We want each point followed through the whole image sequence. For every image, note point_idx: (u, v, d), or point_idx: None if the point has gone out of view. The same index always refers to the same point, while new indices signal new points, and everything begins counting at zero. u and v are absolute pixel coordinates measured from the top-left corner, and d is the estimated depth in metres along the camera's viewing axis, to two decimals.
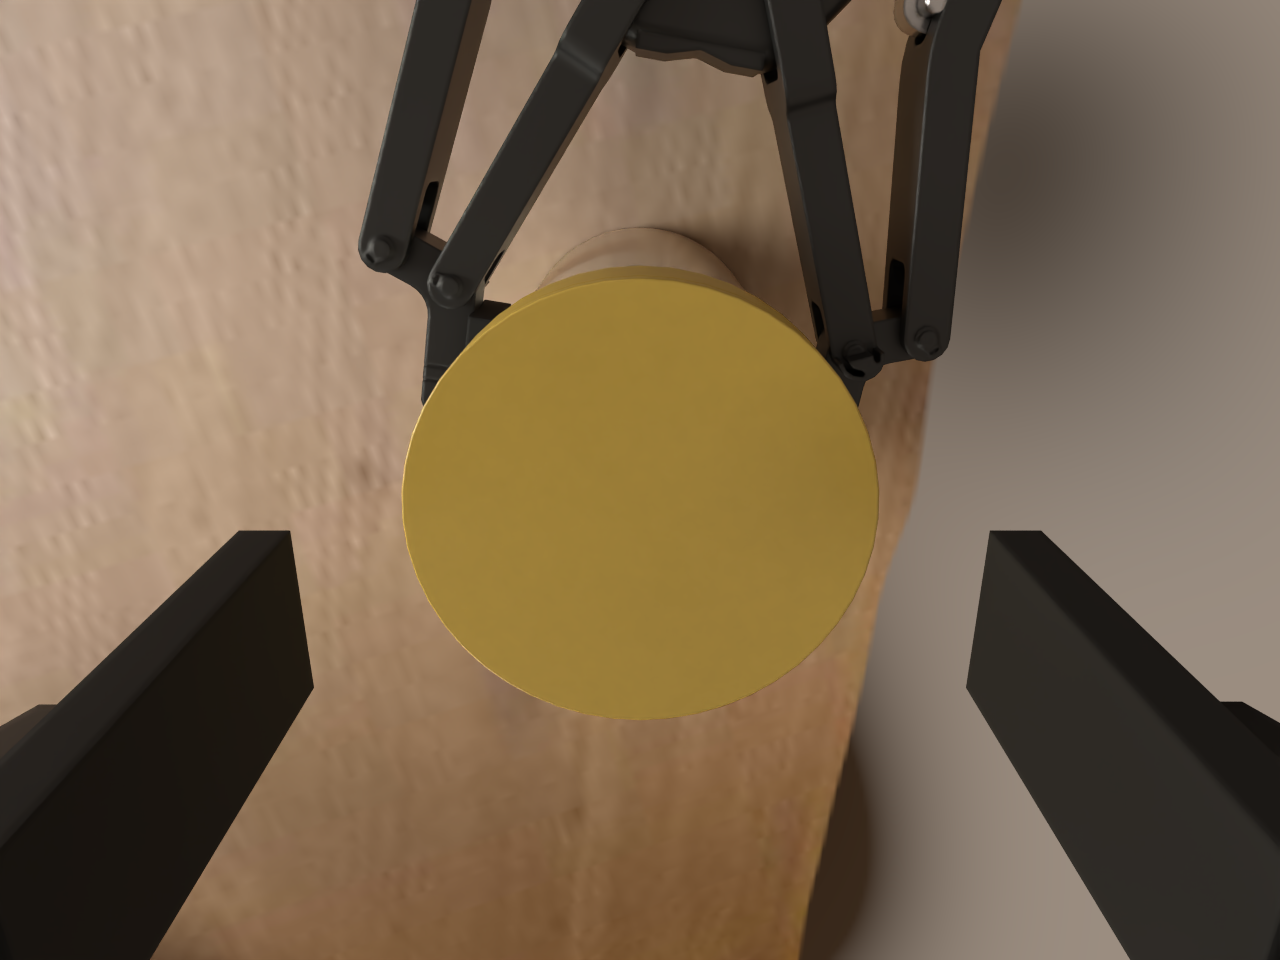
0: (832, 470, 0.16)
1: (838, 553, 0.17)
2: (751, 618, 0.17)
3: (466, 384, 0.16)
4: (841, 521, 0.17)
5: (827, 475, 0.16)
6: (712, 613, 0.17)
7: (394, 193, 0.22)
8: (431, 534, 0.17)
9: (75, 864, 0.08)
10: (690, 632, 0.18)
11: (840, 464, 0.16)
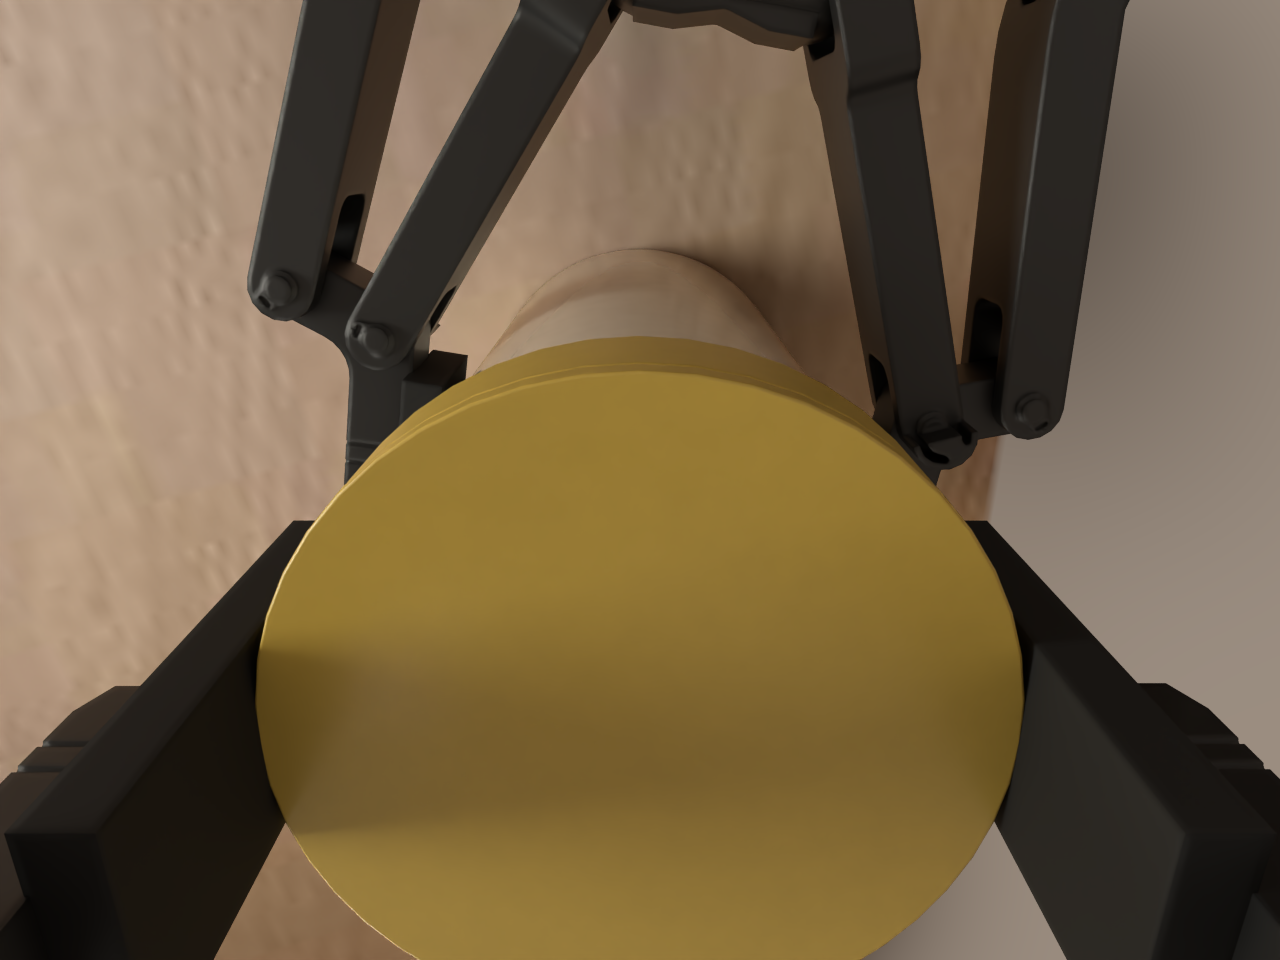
0: (951, 671, 0.10)
1: (954, 791, 0.11)
2: (813, 883, 0.11)
3: (350, 540, 0.10)
4: (961, 745, 0.10)
5: (943, 678, 0.10)
6: (752, 876, 0.11)
7: (294, 211, 0.16)
8: (306, 764, 0.11)
9: (168, 835, 0.08)
10: (717, 902, 0.11)
11: (964, 662, 0.10)
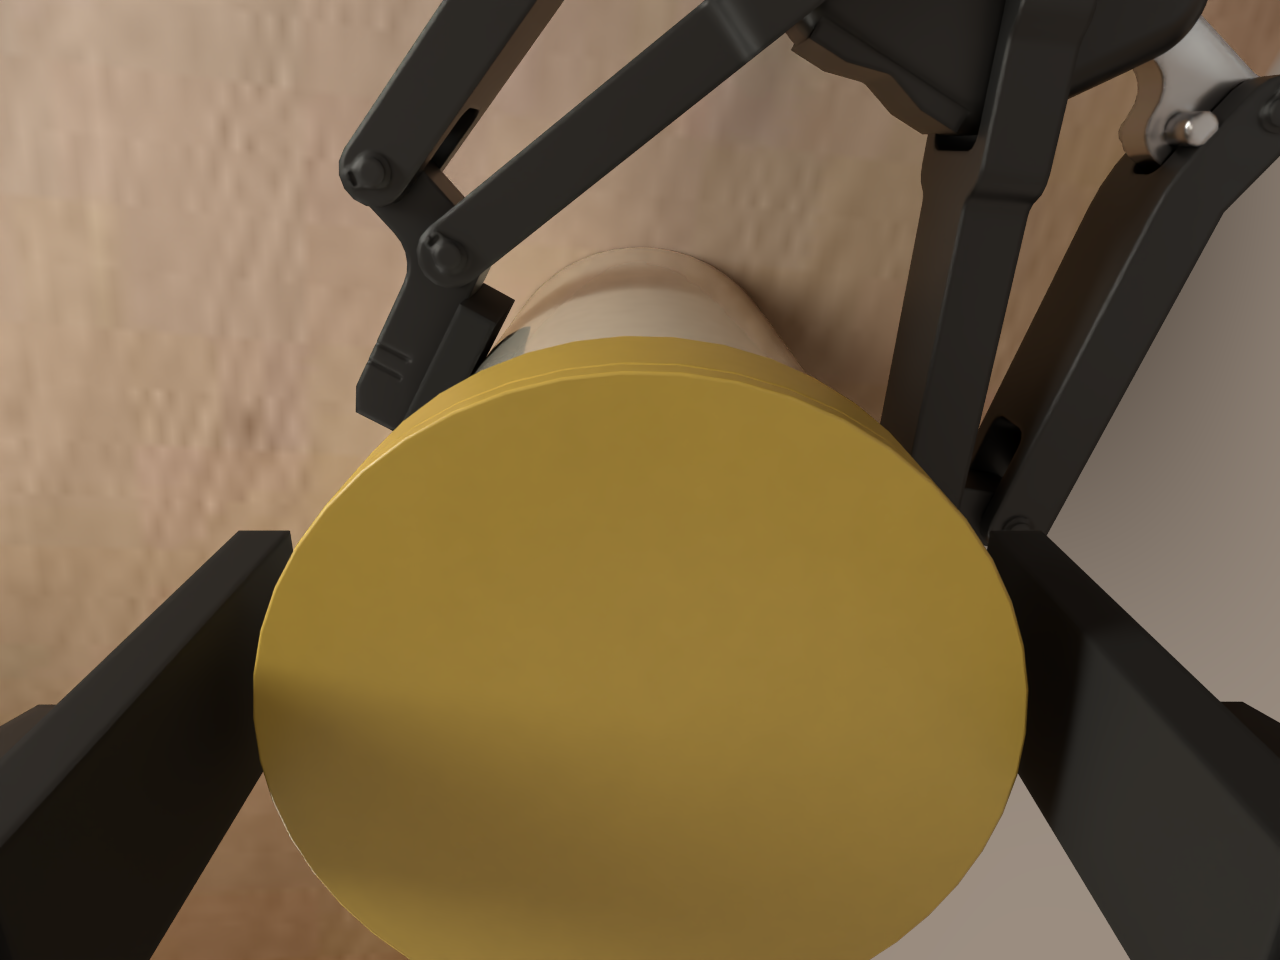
0: (621, 449, 0.09)
1: (787, 461, 0.09)
2: (869, 622, 0.10)
3: (382, 908, 0.11)
4: (724, 447, 0.09)
5: (628, 459, 0.09)
6: (839, 679, 0.10)
7: (417, 104, 0.15)
8: None
9: (75, 864, 0.08)
10: (863, 716, 0.10)
11: (613, 433, 0.09)
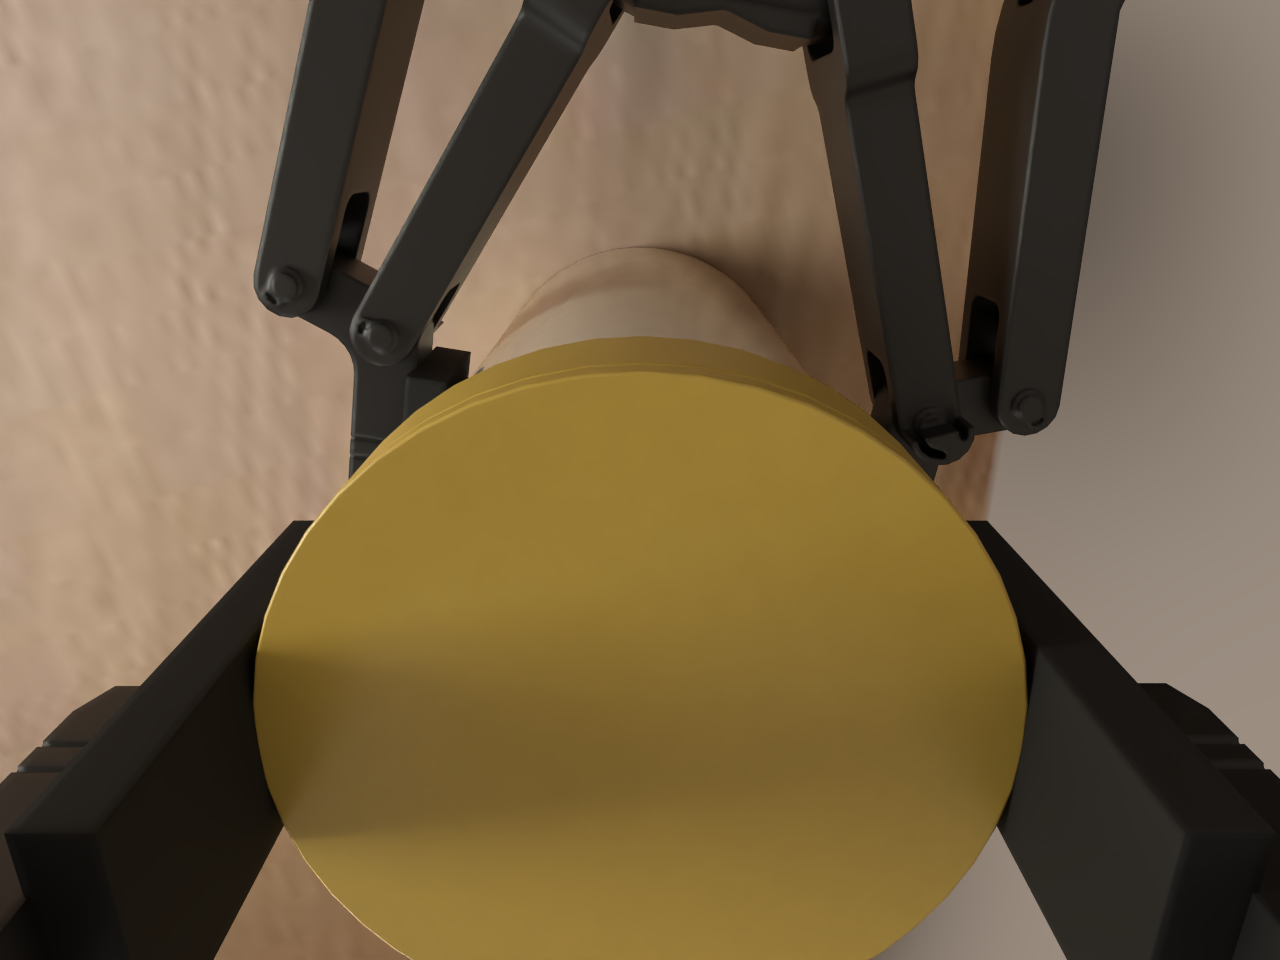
0: (501, 475, 0.09)
1: (661, 433, 0.09)
2: (808, 560, 0.10)
3: None
4: (596, 441, 0.09)
5: (511, 482, 0.09)
6: (802, 624, 0.10)
7: (300, 209, 0.16)
8: None
9: (168, 835, 0.08)
10: (843, 653, 0.10)
11: (487, 464, 0.09)
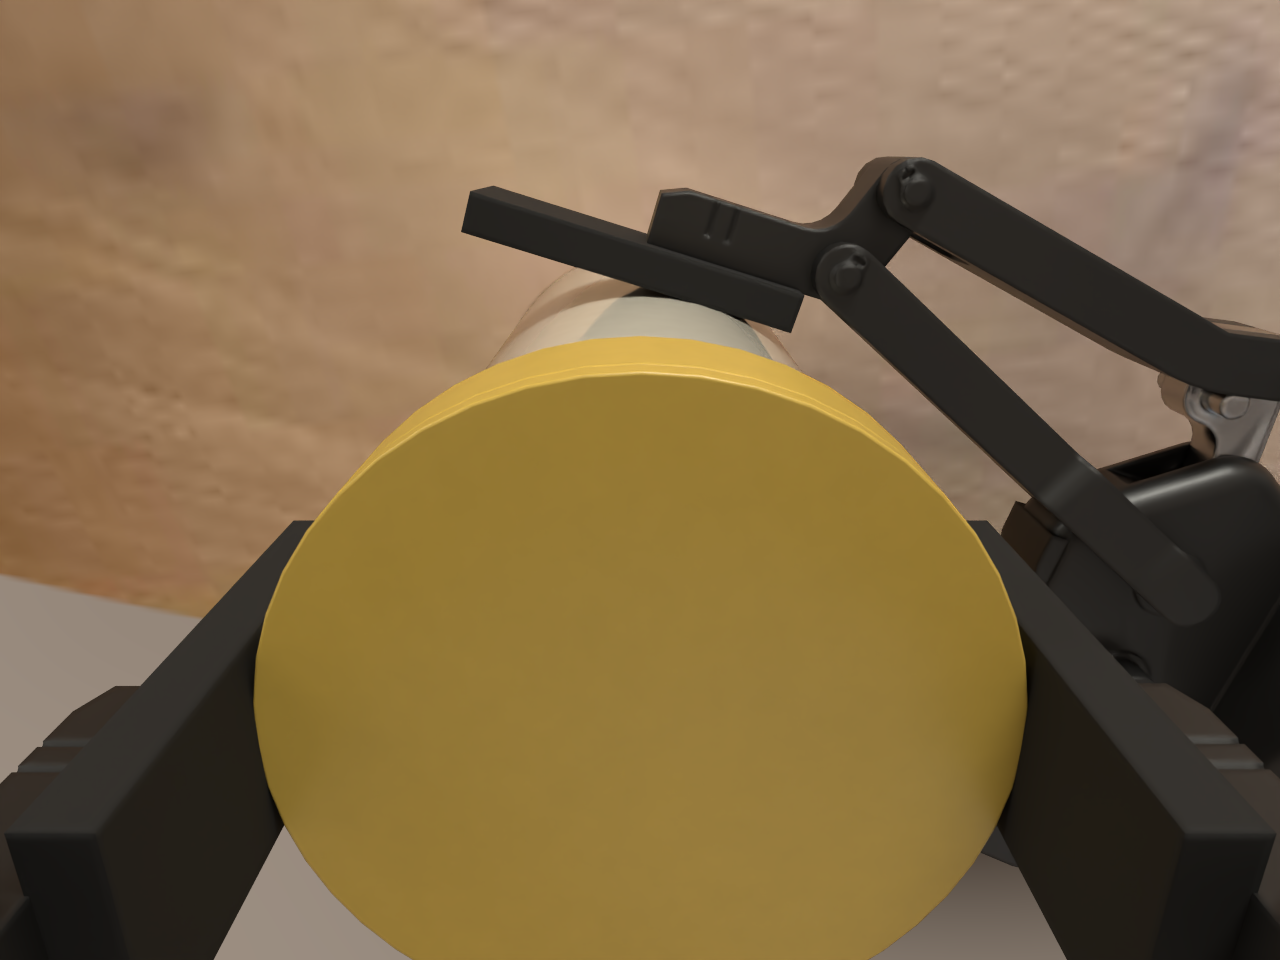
0: (502, 475, 0.09)
1: (661, 433, 0.09)
2: (808, 560, 0.10)
3: None
4: (596, 441, 0.09)
5: (512, 482, 0.09)
6: (802, 624, 0.10)
7: (980, 227, 0.17)
8: None
9: (169, 834, 0.08)
10: (843, 652, 0.10)
11: (488, 463, 0.09)
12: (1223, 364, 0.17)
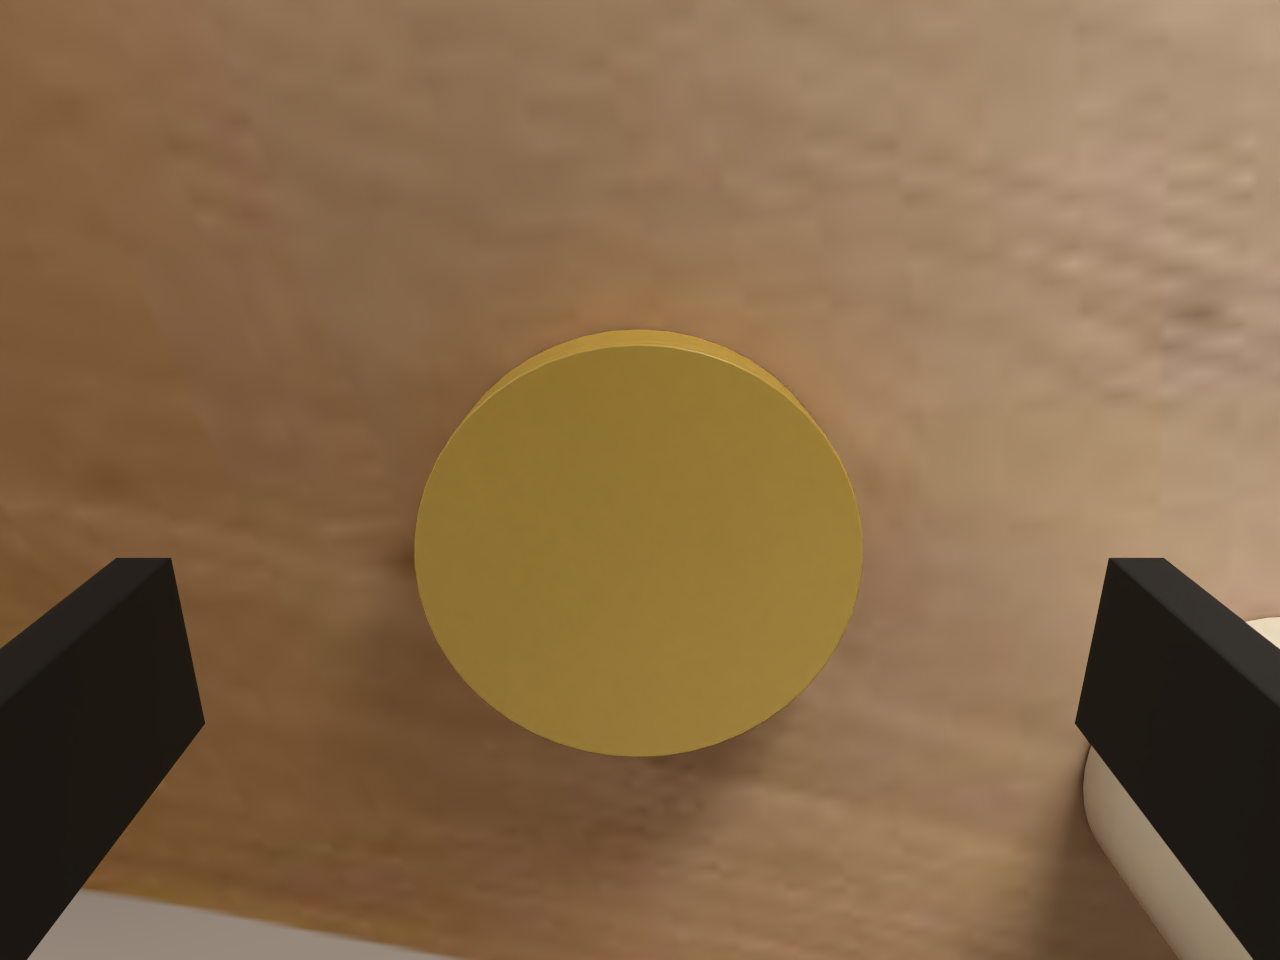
0: (562, 402, 0.17)
1: (650, 378, 0.17)
2: (732, 451, 0.17)
3: (533, 714, 0.19)
4: (614, 382, 0.17)
5: (568, 406, 0.17)
6: (730, 489, 0.17)
7: None
8: (674, 734, 0.19)
9: None
10: (754, 507, 0.17)
11: (555, 395, 0.17)
12: None
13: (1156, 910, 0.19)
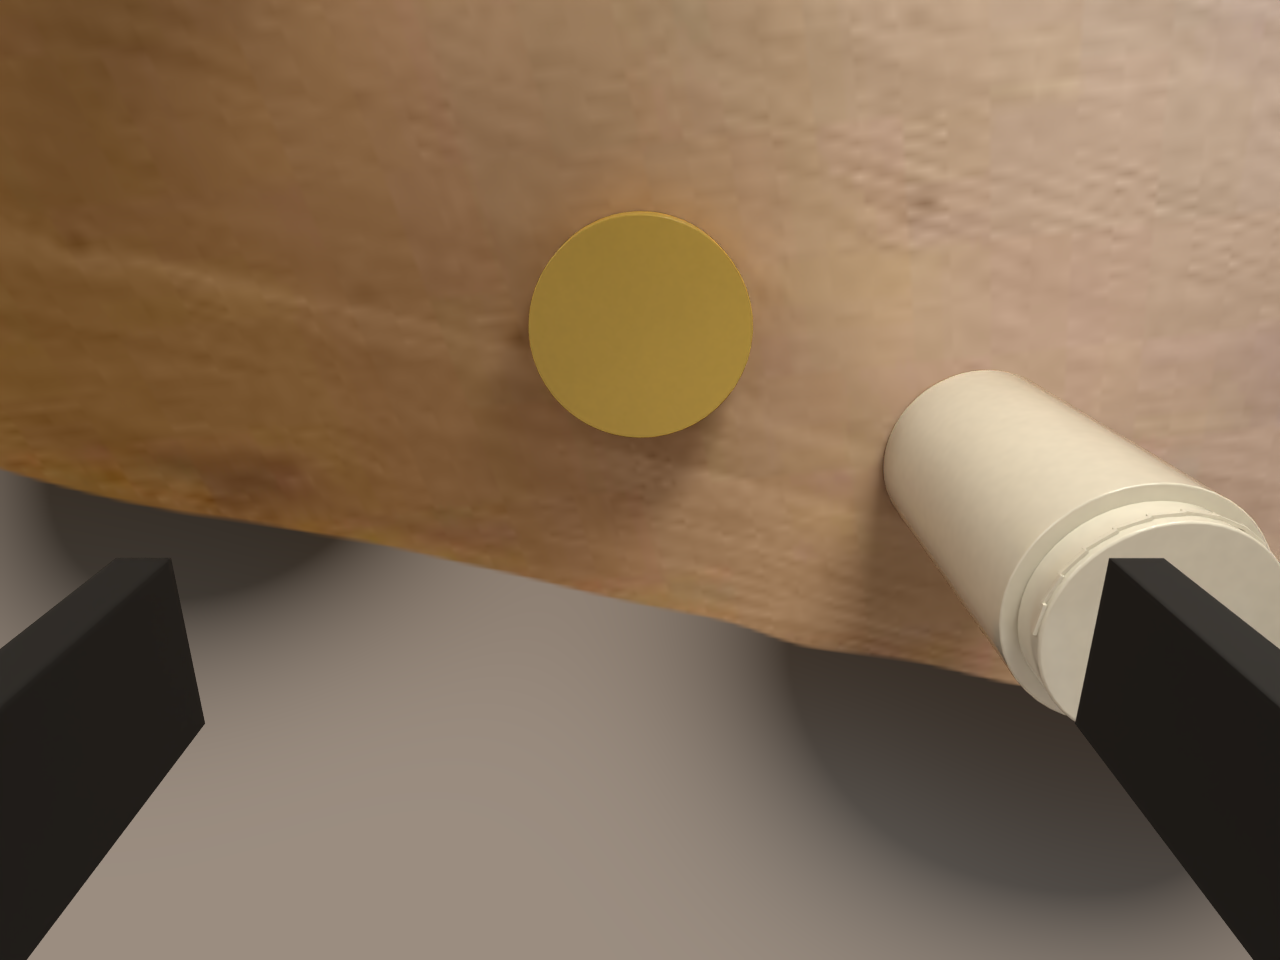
0: (603, 243, 0.34)
1: (646, 231, 0.34)
2: (686, 269, 0.35)
3: (586, 412, 0.37)
4: (629, 233, 0.34)
5: (606, 245, 0.34)
6: (686, 289, 0.35)
7: None
8: (659, 424, 0.37)
9: None
10: (698, 298, 0.35)
11: (600, 240, 0.34)
12: None
13: (905, 513, 0.37)
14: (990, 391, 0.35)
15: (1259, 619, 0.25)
